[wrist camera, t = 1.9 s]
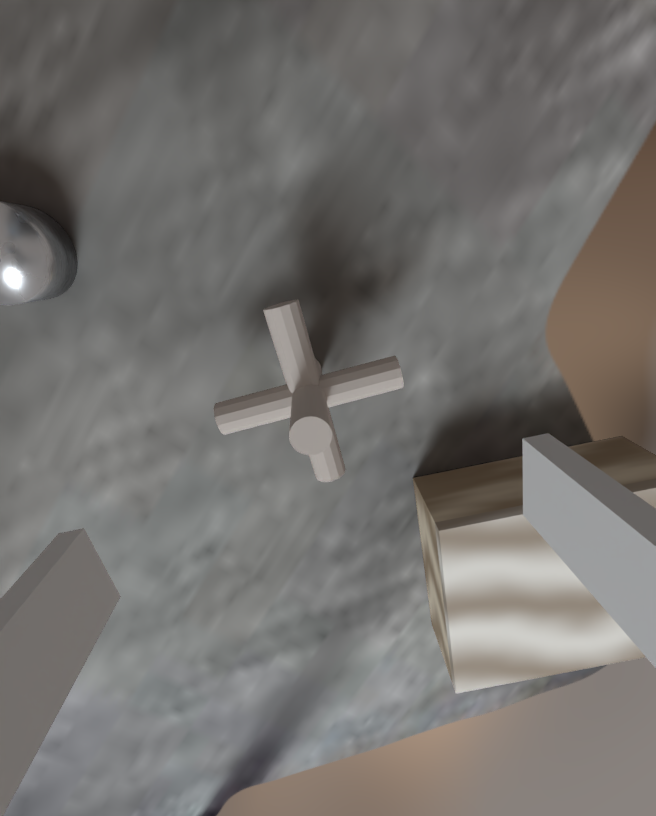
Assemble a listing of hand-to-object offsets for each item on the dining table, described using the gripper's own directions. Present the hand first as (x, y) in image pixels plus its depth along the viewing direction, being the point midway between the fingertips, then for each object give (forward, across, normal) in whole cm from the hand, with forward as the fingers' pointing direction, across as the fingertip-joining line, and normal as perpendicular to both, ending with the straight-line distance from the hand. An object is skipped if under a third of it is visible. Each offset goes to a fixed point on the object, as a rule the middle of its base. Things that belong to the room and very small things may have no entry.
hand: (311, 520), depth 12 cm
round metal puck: (+15, -14, +10) cm, 23 cm away
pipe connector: (+15, 0, 0) cm, 15 cm away
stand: (+15, +14, -18) cm, 27 cm away
